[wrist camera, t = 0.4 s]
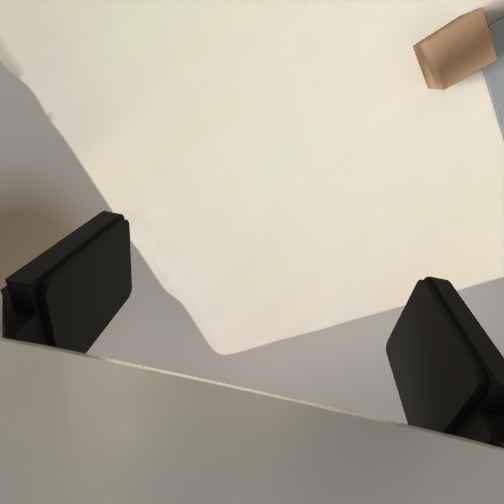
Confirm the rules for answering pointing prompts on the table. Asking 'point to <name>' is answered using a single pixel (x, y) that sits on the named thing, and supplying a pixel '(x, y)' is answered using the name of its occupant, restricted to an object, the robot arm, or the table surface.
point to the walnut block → (456, 50)
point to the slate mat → (497, 72)
